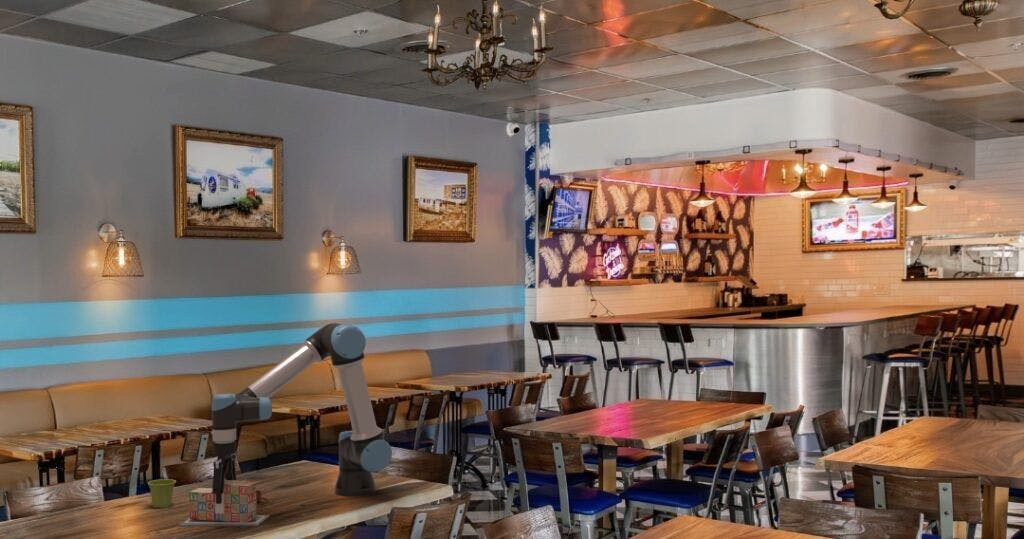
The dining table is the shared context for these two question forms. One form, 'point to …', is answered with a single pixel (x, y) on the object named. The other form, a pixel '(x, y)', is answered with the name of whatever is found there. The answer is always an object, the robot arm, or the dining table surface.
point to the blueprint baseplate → (223, 522)
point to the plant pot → (161, 492)
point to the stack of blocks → (226, 502)
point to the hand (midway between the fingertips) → (225, 509)
